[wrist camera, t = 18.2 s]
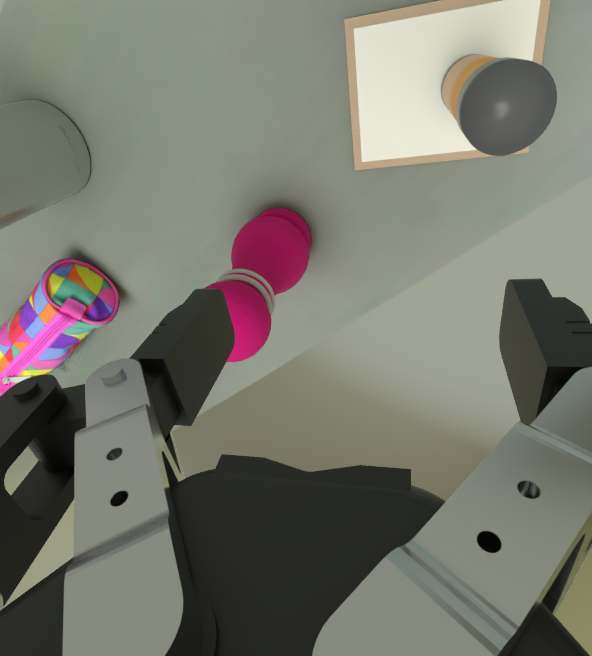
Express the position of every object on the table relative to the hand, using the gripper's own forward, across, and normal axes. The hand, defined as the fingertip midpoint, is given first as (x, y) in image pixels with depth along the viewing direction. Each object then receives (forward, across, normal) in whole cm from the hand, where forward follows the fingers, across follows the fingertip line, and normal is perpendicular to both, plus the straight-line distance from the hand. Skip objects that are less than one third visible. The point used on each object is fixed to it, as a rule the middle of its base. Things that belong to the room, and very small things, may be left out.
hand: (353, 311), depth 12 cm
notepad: (+29, -4, -2) cm, 29 cm away
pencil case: (+30, +42, +18) cm, 54 cm away
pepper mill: (+29, +11, +9) cm, 33 cm away
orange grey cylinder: (+28, -6, -2) cm, 29 cm away
